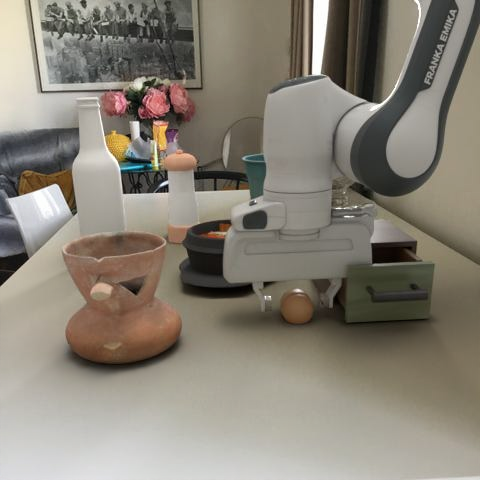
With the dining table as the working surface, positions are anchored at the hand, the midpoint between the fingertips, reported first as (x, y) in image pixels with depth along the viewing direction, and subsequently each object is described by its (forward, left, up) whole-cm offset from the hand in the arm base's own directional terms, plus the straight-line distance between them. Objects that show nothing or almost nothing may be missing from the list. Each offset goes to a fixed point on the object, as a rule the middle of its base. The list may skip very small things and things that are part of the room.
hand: (296, 308), depth 79 cm
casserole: (+8, -23, -2) cm, 24 cm away
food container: (-16, -30, -2) cm, 34 cm away
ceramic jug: (+23, +6, -2) cm, 24 cm away
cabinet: (-12, -12, -2) cm, 17 cm away
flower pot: (-5, -59, -2) cm, 59 cm away
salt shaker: (+17, -50, -2) cm, 53 cm away
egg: (0, 0, -2) cm, 2 cm away
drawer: (-12, -1, -1) cm, 12 cm away
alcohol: (+32, -36, -2) cm, 48 cm away
